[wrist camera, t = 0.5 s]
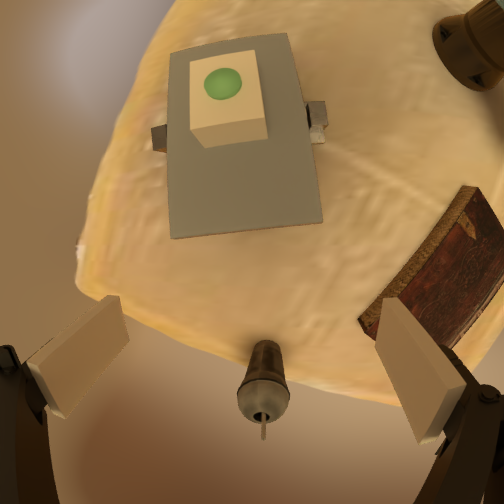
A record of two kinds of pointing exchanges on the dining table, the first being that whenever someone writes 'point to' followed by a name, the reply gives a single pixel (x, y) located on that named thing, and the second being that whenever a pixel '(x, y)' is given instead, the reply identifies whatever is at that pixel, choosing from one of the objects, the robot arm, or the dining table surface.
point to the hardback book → (449, 272)
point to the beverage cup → (264, 386)
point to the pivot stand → (314, 118)
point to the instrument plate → (243, 165)
